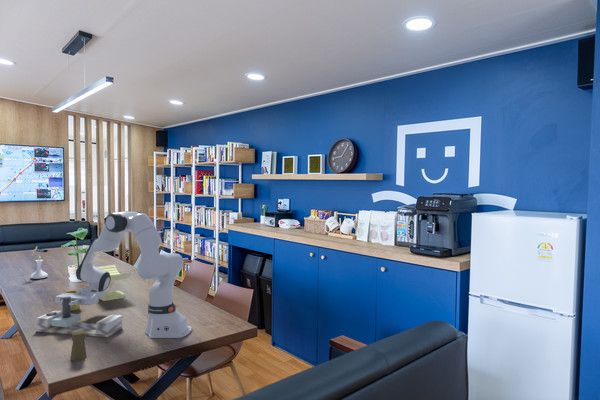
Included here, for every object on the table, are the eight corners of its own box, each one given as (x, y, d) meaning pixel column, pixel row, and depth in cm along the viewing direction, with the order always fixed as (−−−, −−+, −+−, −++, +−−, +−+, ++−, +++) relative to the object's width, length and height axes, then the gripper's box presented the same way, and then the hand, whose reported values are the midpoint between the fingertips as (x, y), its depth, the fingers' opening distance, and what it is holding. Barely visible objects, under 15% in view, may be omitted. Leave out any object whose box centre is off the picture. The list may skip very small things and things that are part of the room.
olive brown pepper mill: (73, 362, 159) (73, 336, 159) (68, 357, 163) (68, 332, 163) (88, 357, 164) (88, 332, 164) (83, 353, 168) (83, 328, 168)
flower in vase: (35, 276, 299) (35, 244, 298) (51, 276, 300) (51, 244, 299) (25, 280, 286) (25, 247, 285) (41, 280, 287) (41, 247, 287)
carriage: (80, 322, 200) (80, 295, 199) (66, 329, 190) (66, 300, 189) (66, 321, 201) (66, 294, 200) (51, 328, 191) (51, 299, 190)
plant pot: (57, 310, 223) (57, 293, 222) (74, 305, 232) (74, 289, 232) (70, 312, 219) (70, 295, 218) (86, 307, 228) (86, 291, 228)
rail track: (121, 328, 198) (122, 314, 198) (107, 337, 186) (107, 322, 186) (54, 322, 203) (54, 309, 203) (36, 331, 191) (36, 316, 191)
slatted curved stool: (89, 294, 256) (89, 267, 256) (114, 290, 267) (114, 264, 266) (103, 305, 234) (103, 276, 234) (130, 300, 245) (130, 272, 244)
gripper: (66, 289, 209) (46, 296, 195) (101, 291, 207) (83, 298, 193) (66, 300, 209) (46, 308, 196) (101, 303, 207) (83, 311, 193)
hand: (65, 303), depth 194 cm, fingers closed on carriage, 4 cm apart
